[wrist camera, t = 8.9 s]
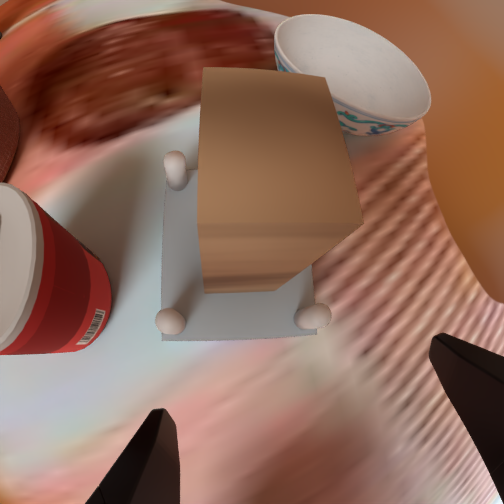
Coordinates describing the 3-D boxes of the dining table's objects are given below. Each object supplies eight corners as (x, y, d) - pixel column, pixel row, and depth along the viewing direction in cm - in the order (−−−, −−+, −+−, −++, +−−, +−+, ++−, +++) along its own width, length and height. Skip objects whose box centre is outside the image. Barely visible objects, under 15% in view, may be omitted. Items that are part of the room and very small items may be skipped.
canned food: (112, 241, 21) (46, 164, 10) (121, 349, 19) (41, 356, 8) (32, 254, 19) (-54, 199, 9) (36, 353, 17) (-63, 351, 7)
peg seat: (307, 334, 21) (335, 333, 16) (166, 340, 19) (153, 341, 15) (293, 184, 24) (312, 150, 19) (170, 183, 23) (162, 146, 18)
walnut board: (274, 291, 19) (363, 223, 8) (204, 293, 19) (197, 223, 7) (267, 206, 21) (324, 77, 10) (203, 206, 20) (203, 67, 9)
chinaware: (326, 55, 31) (346, 10, 23) (414, 137, 28) (451, 97, 21) (229, 88, 26) (238, 26, 19) (334, 196, 24) (377, 145, 17)
